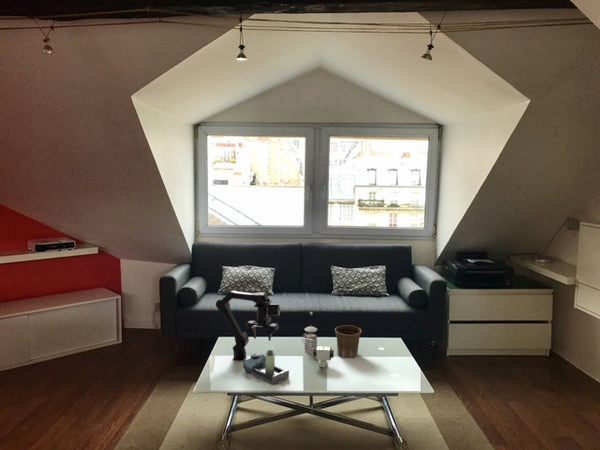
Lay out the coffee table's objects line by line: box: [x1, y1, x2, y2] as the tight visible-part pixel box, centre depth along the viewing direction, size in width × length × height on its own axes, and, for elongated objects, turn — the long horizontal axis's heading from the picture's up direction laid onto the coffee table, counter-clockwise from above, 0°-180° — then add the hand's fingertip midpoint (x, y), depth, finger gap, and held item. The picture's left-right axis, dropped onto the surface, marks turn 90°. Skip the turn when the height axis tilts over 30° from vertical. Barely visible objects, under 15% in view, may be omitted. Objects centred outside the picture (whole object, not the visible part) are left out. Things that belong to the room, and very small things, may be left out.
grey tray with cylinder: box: [242, 353, 290, 386], centre depth 245 cm, size 25×12×8 cm, turn 46°
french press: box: [301, 311, 318, 355], centre depth 277 cm, size 10×12×25 cm
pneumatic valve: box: [312, 345, 335, 368], centre depth 256 cm, size 6×12×12 cm, turn 83°
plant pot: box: [334, 325, 362, 360], centre depth 272 cm, size 16×16×16 cm
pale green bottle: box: [265, 349, 276, 375], centre depth 242 cm, size 5×5×12 cm
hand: (262, 339), depth 261 cm, fingers open, 9 cm apart
